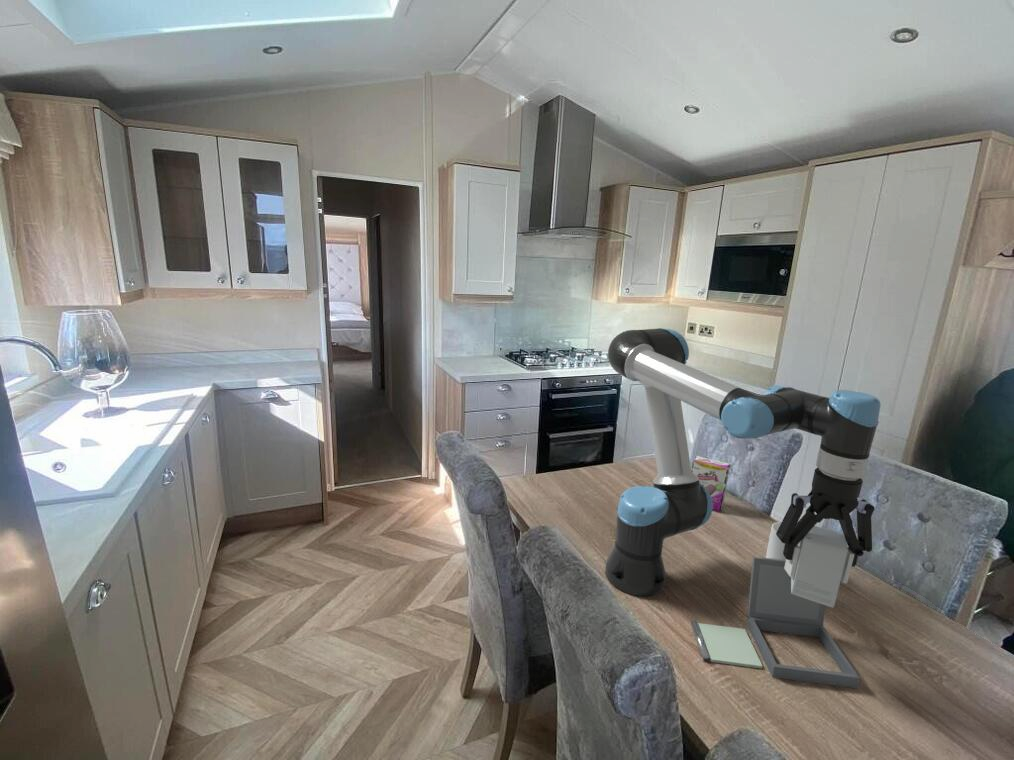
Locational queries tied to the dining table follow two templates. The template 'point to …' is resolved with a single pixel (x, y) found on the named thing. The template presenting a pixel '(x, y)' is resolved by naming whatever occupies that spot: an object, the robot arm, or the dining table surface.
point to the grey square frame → (800, 673)
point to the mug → (775, 544)
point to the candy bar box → (712, 478)
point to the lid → (779, 595)
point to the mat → (729, 646)
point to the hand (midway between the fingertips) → (815, 575)
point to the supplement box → (820, 566)
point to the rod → (699, 640)
